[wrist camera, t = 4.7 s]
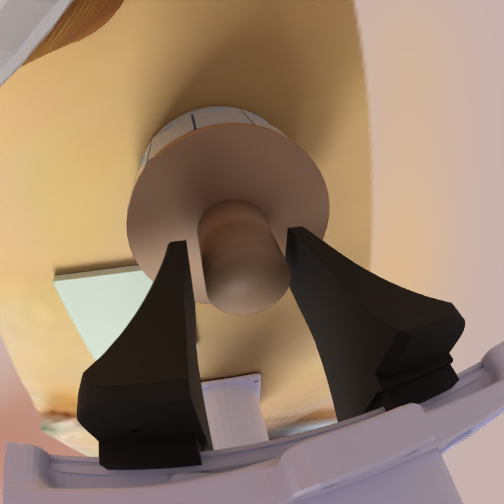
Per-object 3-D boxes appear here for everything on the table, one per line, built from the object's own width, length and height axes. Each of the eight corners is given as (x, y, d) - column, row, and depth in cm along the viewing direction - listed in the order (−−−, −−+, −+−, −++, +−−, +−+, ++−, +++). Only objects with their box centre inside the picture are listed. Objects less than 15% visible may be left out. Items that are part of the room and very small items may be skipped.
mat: (197, 344, 26) (197, 349, 25) (95, 354, 24) (95, 360, 23) (181, 259, 20) (182, 265, 20) (54, 275, 18) (52, 281, 18)
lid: (303, 286, 18) (331, 345, 15) (140, 298, 16) (139, 367, 13) (339, 129, 13) (396, 168, 9) (120, 125, 11) (96, 166, 7)
